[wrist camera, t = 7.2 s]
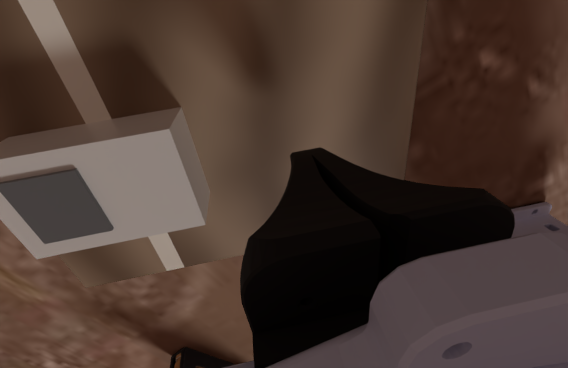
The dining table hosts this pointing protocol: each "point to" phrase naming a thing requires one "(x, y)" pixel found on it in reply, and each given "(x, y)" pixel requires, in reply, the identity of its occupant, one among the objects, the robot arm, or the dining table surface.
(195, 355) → the ammunition clip
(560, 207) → the dining table surface
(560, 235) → the robot arm
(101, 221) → the block
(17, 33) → the subfloor panel
